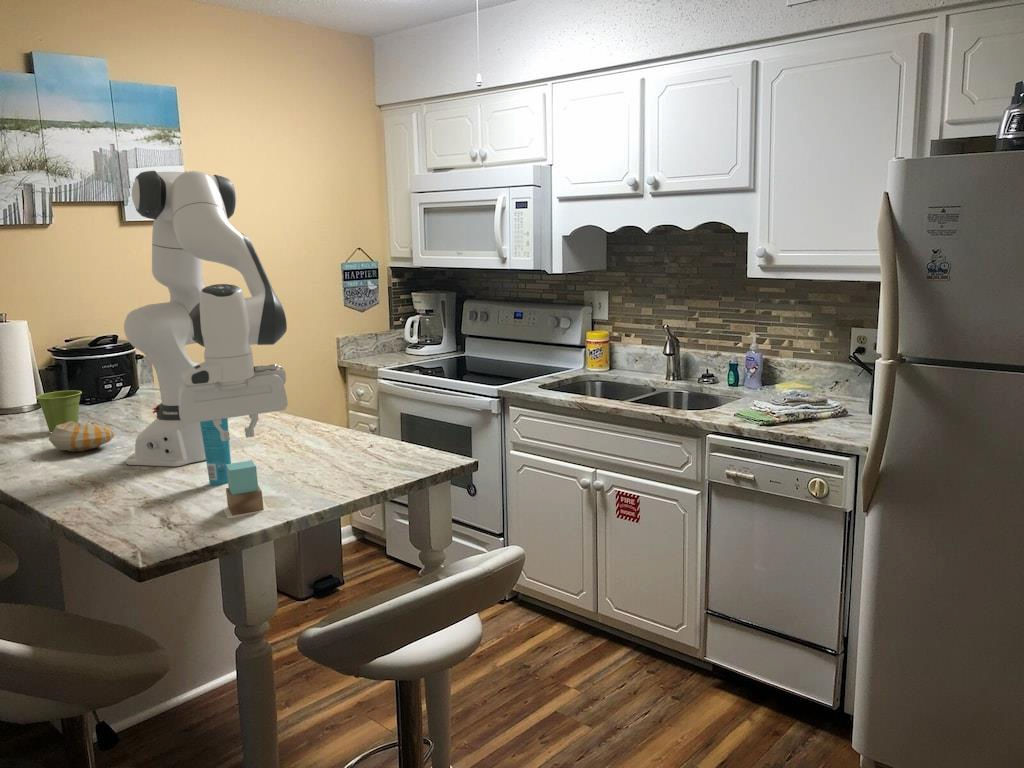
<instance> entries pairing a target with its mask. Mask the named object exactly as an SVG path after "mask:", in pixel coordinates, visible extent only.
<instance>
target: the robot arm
mask: <svg viewBox="0 0 1024 768" xmlns="http://www.w3.org/2000/svg"><path fill="white" fill-rule="evenodd" d="M131 200H132V202H133V205H134V207H135V211H136V212H137V213H138V214H139V215H140V216H141V217H143V218H147V219H149V220H153V225H152V237H151V273H152V276H153V278H154V279H155V280H156V281H157V282H158V283H159V284H161V285H162V286H164V287H167V290H168V292H169V296H170V297H169V298H170V300H169V301H166V302H159V303H152V304H146V305H144V306H140V307H138V308H135V309H133V310H130V311H129V312H128V313H127V315H126V317H125V320H124V323H123V329H124V334H125V337H126V340H127V341H128V343H129V344H130V345H131V346H132V347H133V348H135V349H137V350H138V351H140V352H141V353H143V354H144V355H145V356H146V358H148V360H149V361H150V363H151V365H152V366H153V369H154V370H155V373H156V375H157V380H158V386H159V392H160V393H159V394H160V398H161V402H160V404H158V405H156V406H155V407H154V408H151V409H152V414H155V413H156V419H154V420H153V421H152V422H151V423H150V424H149V425H148V426H147V427H145V428H144V429H143V430H141V432H140V433H139V434H138V435H137V437H136V439H135V443H134V453H132V454H130V455H129V456H127V458H126V460H125V461H126V462H125V463H126V465H127V464H128V466H150V467H151V466H153V467H182V466H185V465H188V464H192V463H197V462H203V461H206V456H205V450H204V444H203V437H202V432H201V426H200V422H202V421H209V420H213V424H214V425H215V427H216V428H217V429H218V430H219V432H220V435H221V440H222V441H228V440H229V441H231V438H230V431H229V429H228V430H224V431H223V429H222V428H221V427H220V424H222V420H221V419H224V418H228V419H231V418H238V417H243V416H244V417H245V416H246V417H247V416H249V419H250V423H249V425H248V426H246V427H244V432H245V433H244V435H245V437H246V439H247V438H253V437H255V428H256V425H257V423H258V421H259V414H266V413H273V412H274V413H276V412H279V411H281V412H282V411H286V409H287V407H288V406H289V402H288V395H287V391H286V387H285V384H286V382H287V376H286V375H287V374H286V371H285V369H284V368H283V367H282V366H280V365H278V364H274V363H273V364H270V365H256V366H254V358H253V355H254V354H253V350H252V347H251V346H254V345H257V346H264V345H265V346H269V345H270V346H272V345H275V344H276V343H278V342H279V341H280V339H282V338H283V336H284V335H285V334H286V332H287V330H288V329H287V327H288V326H287V325H288V323H287V322H288V321H287V314H286V311H285V309H284V307H283V305H282V303H281V301H280V299H279V298H278V296H277V294H276V293H275V290H274V289H273V287H272V284H271V281H270V279H269V277H268V276H267V272H266V271H265V268H264V266H263V264H262V262H261V260H260V257H259V255H258V253H257V251H256V249H255V247H254V245H253V243H252V241H251V240H250V238H249V237H248V236H247V235H246V234H243V233H242V232H240V231H239V230H237V228H235V227H234V226H233V225H232V223H231V222H230V220H229V219H230V218H231V217H232V216H233V215H234V213H235V210H236V207H237V192H236V190H235V186H234V184H233V183H232V181H231V180H230V179H229V178H227V177H224V176H222V175H218V174H213V175H211V174H207V173H205V172H202V171H198V170H197V171H196V170H192V171H191V170H190V171H189V170H188V171H156V170H148V171H147V170H146V171H142V172H141V171H140V173H139V174H138V175H137V176H135V178H134V182H133V184H132V187H131ZM203 261H206V262H212V263H217V264H221V265H224V266H227V267H230V268H232V269H234V270H237V272H239V273H240V274H241V275H242V277H243V280H244V283H245V284H246V286H247V289H248V290H249V294H250V296H251V297H250V296H249V297H244V296H245V295H244V293H243V291H242V288H241V287H239V286H237V285H235V284H228V283H221V284H220V283H219V284H218V283H217V284H211V285H207V286H205V284H204V283H205V282H204V277H203ZM192 344H198V345H199V346H201V347H203V348H204V353H203V356H204V357H203V358H204V361H203V362H201V363H199V362H197V361H194V360H192V359H191V358H190V357H189V355H188V353H187V350H186V346H187V345H192Z"/></svg>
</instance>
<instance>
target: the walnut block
mask: <svg viewBox="0 0 1024 768" xmlns="http://www.w3.org/2000/svg"><path fill="white" fill-rule="evenodd" d="M258 490H259V491H253V492H247V493H242V494H236V495H232V494H231V492H230V490H229V487H225V492H226V501H227V506H228V508H229V510H230V512H231V514H232V516H234V515H240V514H245V513H250V512H256V511H261V510H264V508H263V501H264V499H263V492H262V491H263V490H262V489H261V488H260V486H259V485H258Z"/></svg>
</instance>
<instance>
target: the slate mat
mask: <svg viewBox="0 0 1024 768" xmlns="http://www.w3.org/2000/svg"><path fill="white" fill-rule="evenodd" d="M221 507H222V509H223V510H222V511H223V512H224V514H225V516H226V518H227V519H232V518H233V519H234V518H239V517H242V516H243V517H244V516H248V515H249V516H250V515H255V514H259V513H264V512H271V511H270V508H269V506H267V504H266V502H265V501H264V500H263V508H264V510H261V511H256V512H250V513H245V514H240V515H234V516H232V514H231V512H230V510H229V508H228V505H223V506H221Z"/></svg>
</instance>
